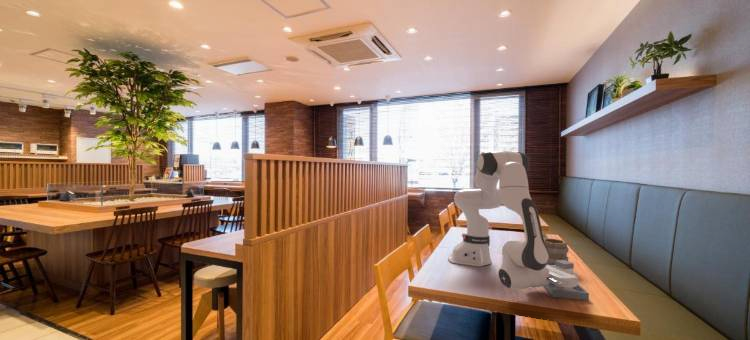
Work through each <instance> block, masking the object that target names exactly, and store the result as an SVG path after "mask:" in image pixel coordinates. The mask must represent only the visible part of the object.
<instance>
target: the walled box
mask: <svg viewBox="0 0 750 340" xmlns="http://www.w3.org/2000/svg"><path fill="white" fill-rule="evenodd" d="M542 287H543V288H544V289H545V290H546V292H548V294H549V296H551V298H553V299H565V300H574V301H575V300H576V301H585V300H586V302H589V299H590V293H589V292H588V291H587V290H586V289H585V288H584V287H583V286H581V285H580V284H579V283H578V285H577V287H573V291H567V290H555V284H553V283H551V282H549V284H548V285H547V286H542Z"/></svg>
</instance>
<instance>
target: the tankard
mask: <svg viewBox="0 0 750 340" xmlns="http://www.w3.org/2000/svg"><path fill="white" fill-rule="evenodd" d="M543 237H544V241H545V244H546V246H547V249H548V251H549V262H548V264H547V265H555V261H559V260H566V261H568V262H569V257H568V256H567V255H568V254H569V247H568V242H566V241H565V240H562V239H559V238H549V237H548V234H546V233H543Z"/></svg>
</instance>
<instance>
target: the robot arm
mask: <svg viewBox="0 0 750 340" xmlns="http://www.w3.org/2000/svg"><path fill="white" fill-rule="evenodd" d="M477 157H478V158H477V170H476V174H475V175H474V179H473V181H474V184H475V187H477V188H463V189H459V190H457V191H456V192H455V194H454V196H453V201H454V204H455V206H456V208H458V209H460V210H461V212H462V213H463V215H464V217H465V221H466V233H465V232H464V233H462V234H461V237H462V241H460V242H459V243H457V244H456V245H455V246H453V249H452V253H450V254H449V255H448V256H447V257H448V258H447V260H448V262H450V263H452V264H457V265H458V264H459V265H463V266H464V265H465V266H472V267H473V266H474V267H479V268H480V267H484V266H486V265H491V264H492V258H491V253H490V243H491V237H490V235H489V234H490V226H489V225H490V223H489V220H488V219H487V218H486V217H484V216H483V215H481V214H480V212H479V211H480V210H493V209H497V208H500V207H501V206H502V205H503V206H504V207H505V208H506V209H508V210H511V211H512V212H514V213H516V214H517V215H518V216H519V217H520V219H521V221H522V225H523V232H524V237H525V241H521V240H509V241H507V242H505V243H504V245H503V246H502V251H501V252H502V253H501V255H502V262H501V266H500V267H499V269H498V273H497V274H498V278H499V281H500V283H501V284H502V285H503V286H504V287H506V288H508V289H509V290H511V289H512V290H523V289H528V288H540V287H543V286H547V285H548V284H549V282H551V283H553V284H555V285H557V286H560V287H577V285H578V284H579V283H578V280H579V274H578V273H575V272H574V273H571V274H569V273H566V272H564V271H561V270H559V269H556V268H555V265H547V264H548V262H549V251H548V249H547V246H546V244H545V241H544V237H543V234H544V233H543V229H542V225H541V219H540V215H539V212H538V208H537V205H536V203H535V202H534V200H532V198H531V194H530V190H529V180H528V174H527V172H528V171H529V169H530V163H531V162H530V158H529V157H528V155H527V154H526V153H524V152H520V151H509V150H499V151H498V150H494V151H491V150H485V151H483V152H481V153H480V154H479V156H477ZM498 185H499V186H498ZM497 186H498V188H497ZM498 189H499V190H498Z"/></svg>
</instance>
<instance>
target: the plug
mask: <svg viewBox="0 0 750 340" xmlns="http://www.w3.org/2000/svg"><path fill="white" fill-rule="evenodd" d="M555 268H556V269H559V270H561V271H564V272H566V273H569V274H571V273H575V271H574V269H575V265H574V262H571V261H569V260H568V261H566V260H559V261H555ZM555 290H567V291H573V287H560V286H557V285H555Z"/></svg>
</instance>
